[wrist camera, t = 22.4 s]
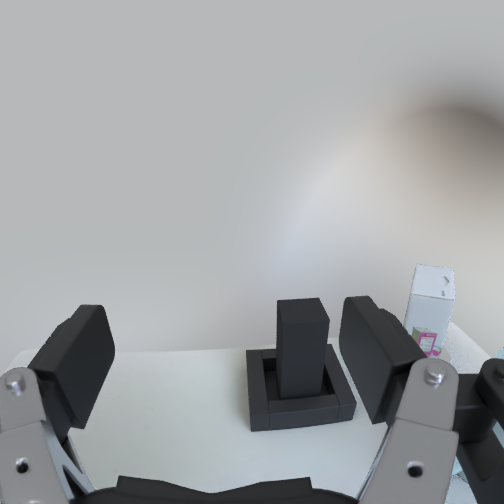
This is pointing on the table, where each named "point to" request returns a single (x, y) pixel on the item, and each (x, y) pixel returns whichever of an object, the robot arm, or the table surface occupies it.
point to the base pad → (302, 409)
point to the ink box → (430, 307)
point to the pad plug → (300, 347)
